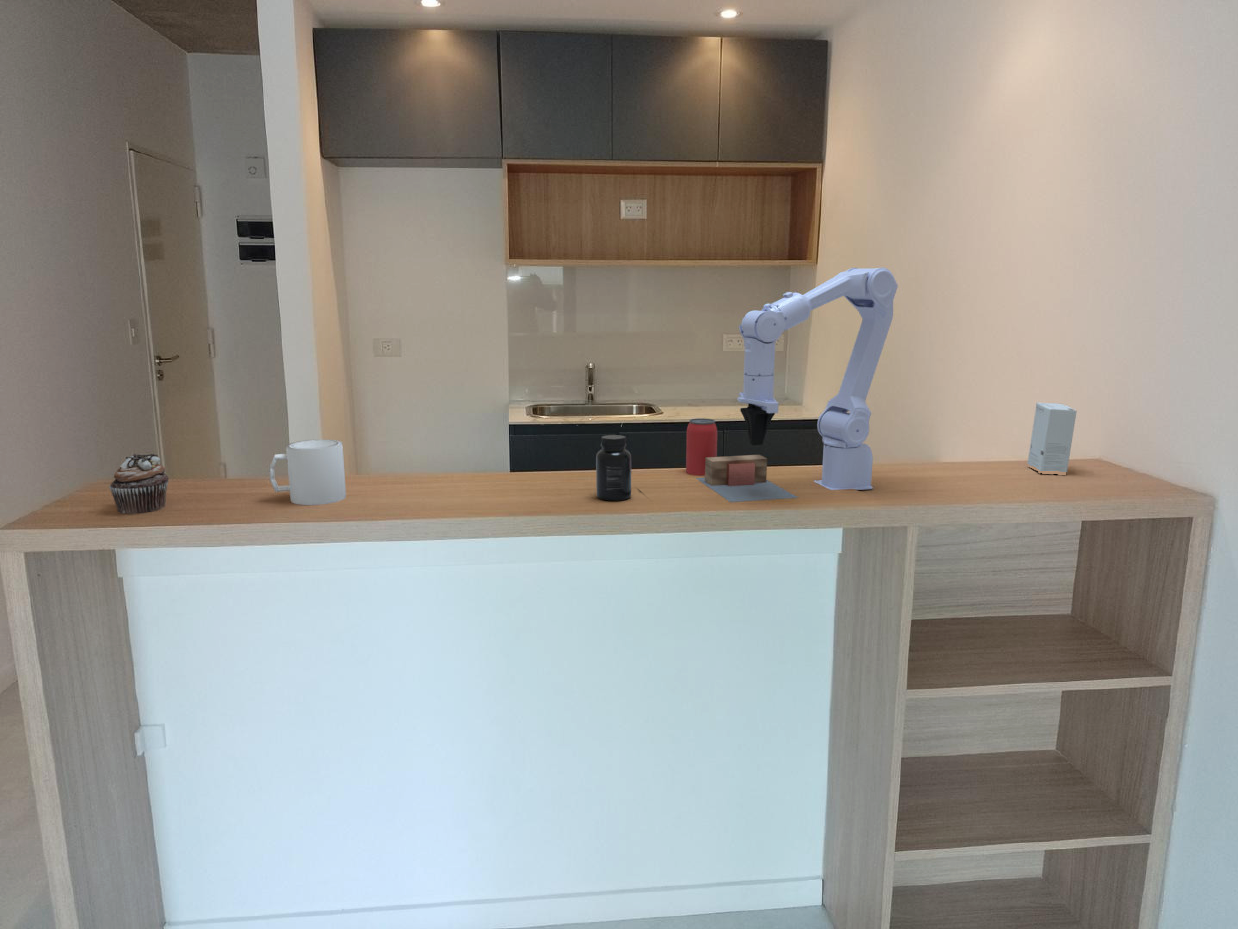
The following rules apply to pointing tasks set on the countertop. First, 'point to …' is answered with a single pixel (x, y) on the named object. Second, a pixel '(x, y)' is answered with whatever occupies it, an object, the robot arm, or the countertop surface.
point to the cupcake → (140, 485)
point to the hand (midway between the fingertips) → (756, 444)
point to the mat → (750, 491)
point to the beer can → (700, 444)
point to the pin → (740, 473)
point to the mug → (313, 472)
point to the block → (718, 465)
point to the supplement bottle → (613, 469)
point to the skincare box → (1051, 437)
